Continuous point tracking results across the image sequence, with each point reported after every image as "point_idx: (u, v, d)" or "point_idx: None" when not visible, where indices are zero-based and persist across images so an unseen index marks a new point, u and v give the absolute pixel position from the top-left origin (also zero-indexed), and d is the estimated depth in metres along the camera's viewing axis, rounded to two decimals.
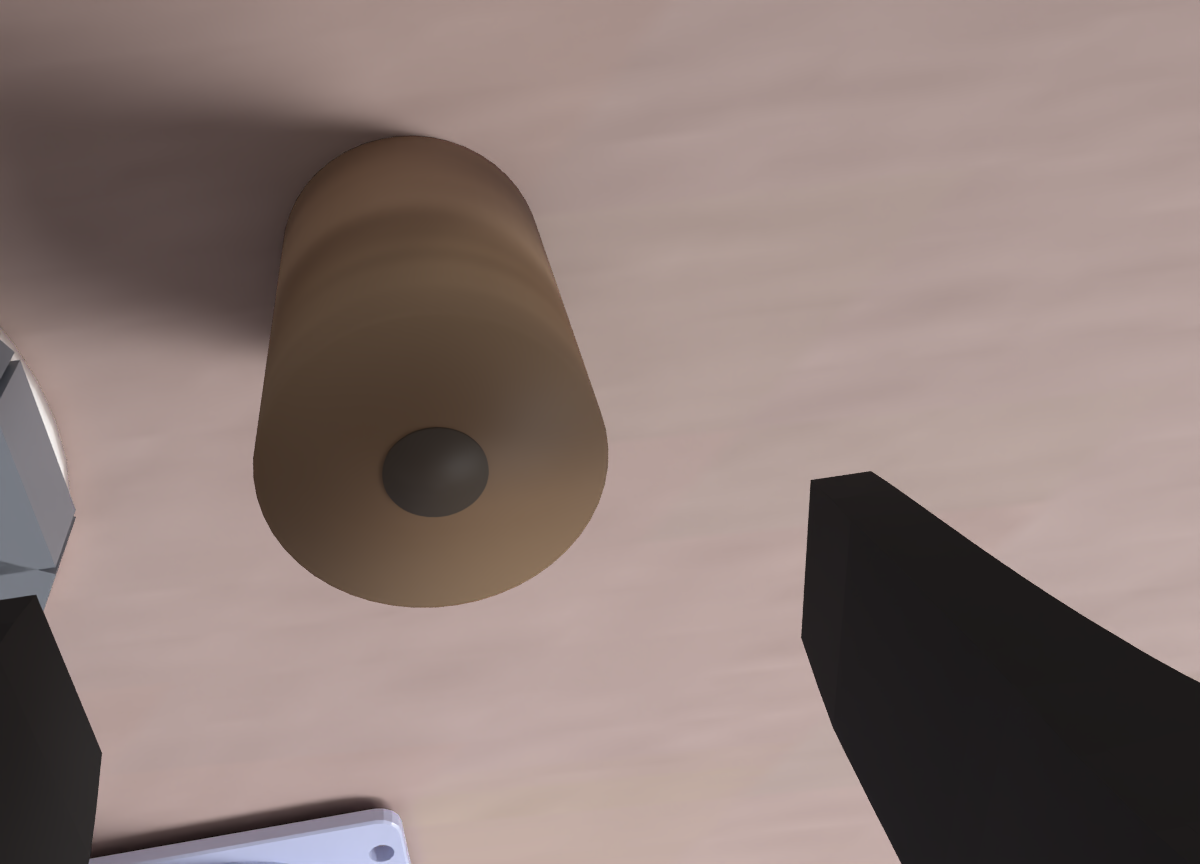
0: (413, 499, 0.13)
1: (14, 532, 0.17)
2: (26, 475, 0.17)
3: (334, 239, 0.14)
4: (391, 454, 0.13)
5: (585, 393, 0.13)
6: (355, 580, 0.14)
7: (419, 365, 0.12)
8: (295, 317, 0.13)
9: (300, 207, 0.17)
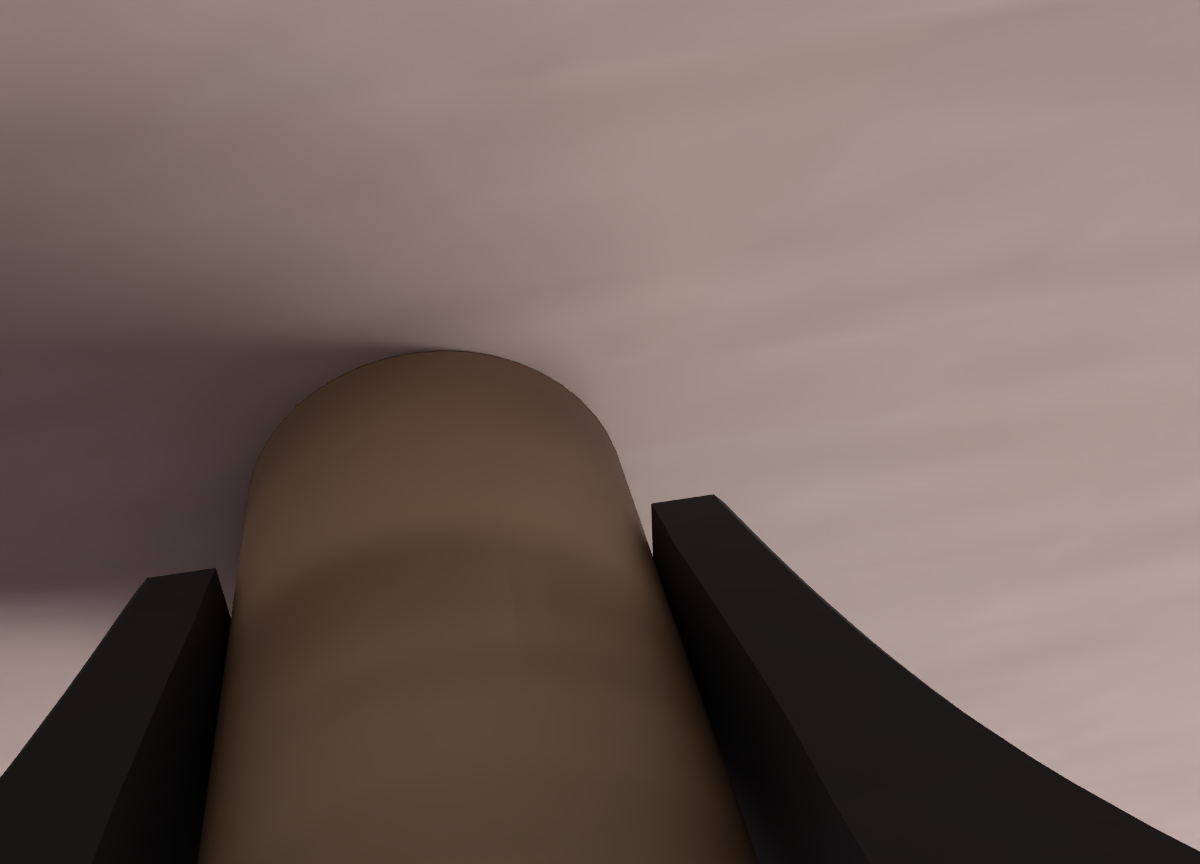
0: None
1: None
2: None
3: (319, 590, 0.09)
4: None
5: None
6: None
7: None
8: (248, 781, 0.08)
9: (270, 469, 0.11)
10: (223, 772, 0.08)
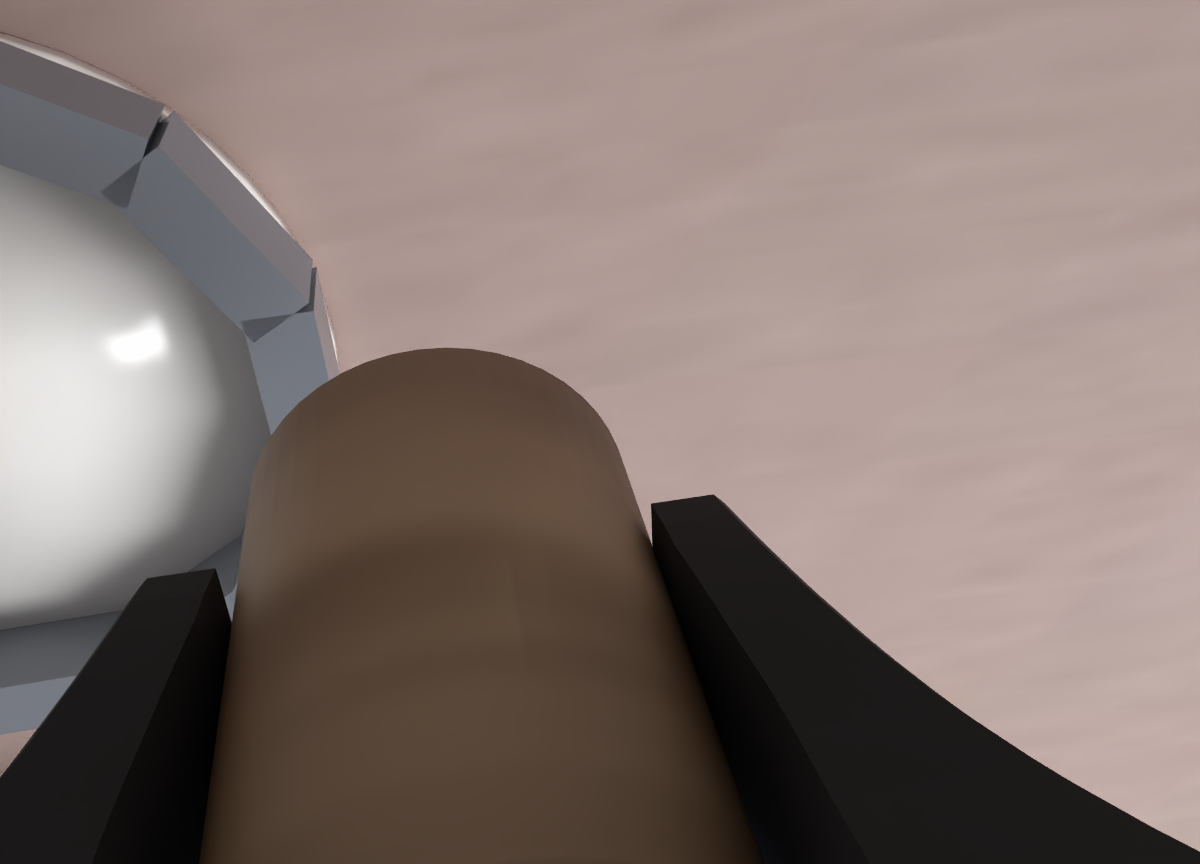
0: None
1: None
2: None
3: (320, 587, 0.09)
4: None
5: None
6: None
7: None
8: (251, 777, 0.08)
9: (272, 466, 0.11)
10: (225, 768, 0.08)
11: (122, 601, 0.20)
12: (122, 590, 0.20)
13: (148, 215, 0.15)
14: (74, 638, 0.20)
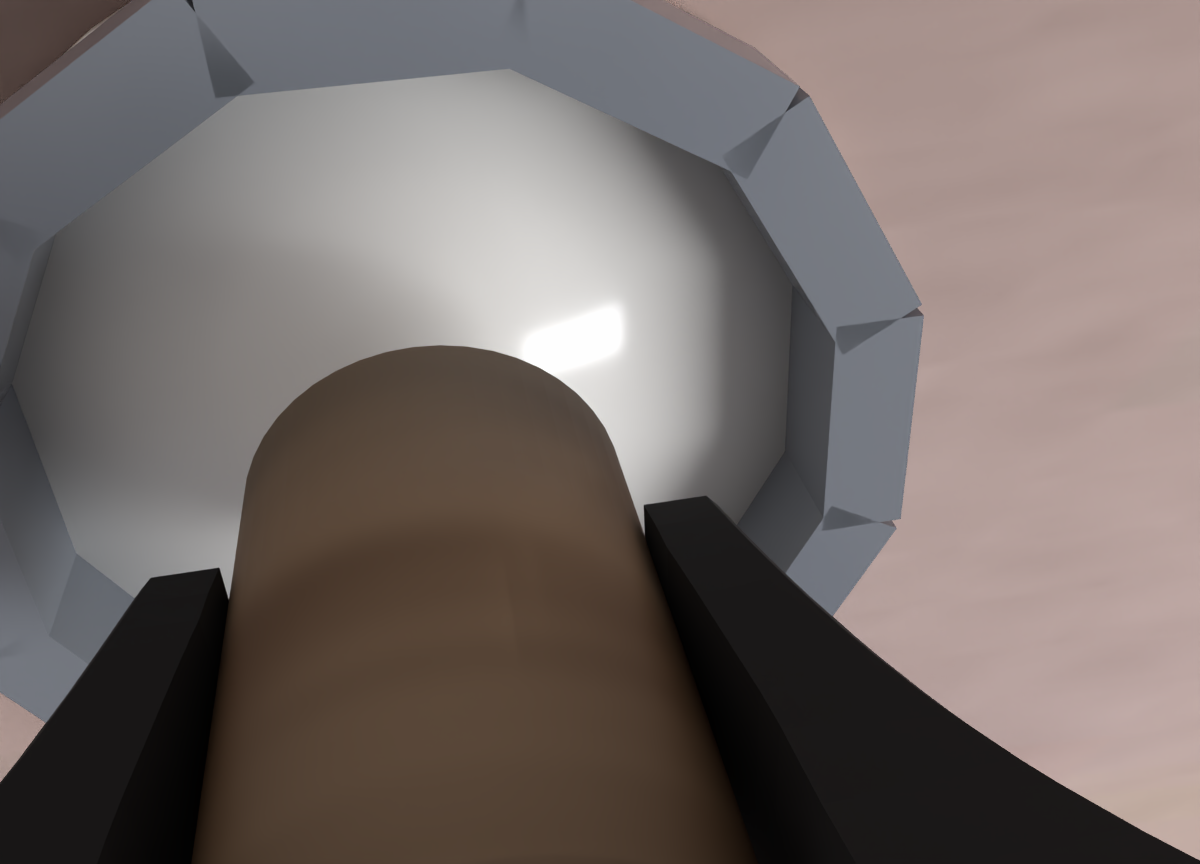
0: None
1: (876, 474, 0.14)
2: None
3: (314, 584, 0.09)
4: None
5: None
6: None
7: None
8: (242, 773, 0.07)
9: (267, 463, 0.11)
10: (218, 766, 0.08)
11: None
12: None
13: (769, 188, 0.11)
14: None
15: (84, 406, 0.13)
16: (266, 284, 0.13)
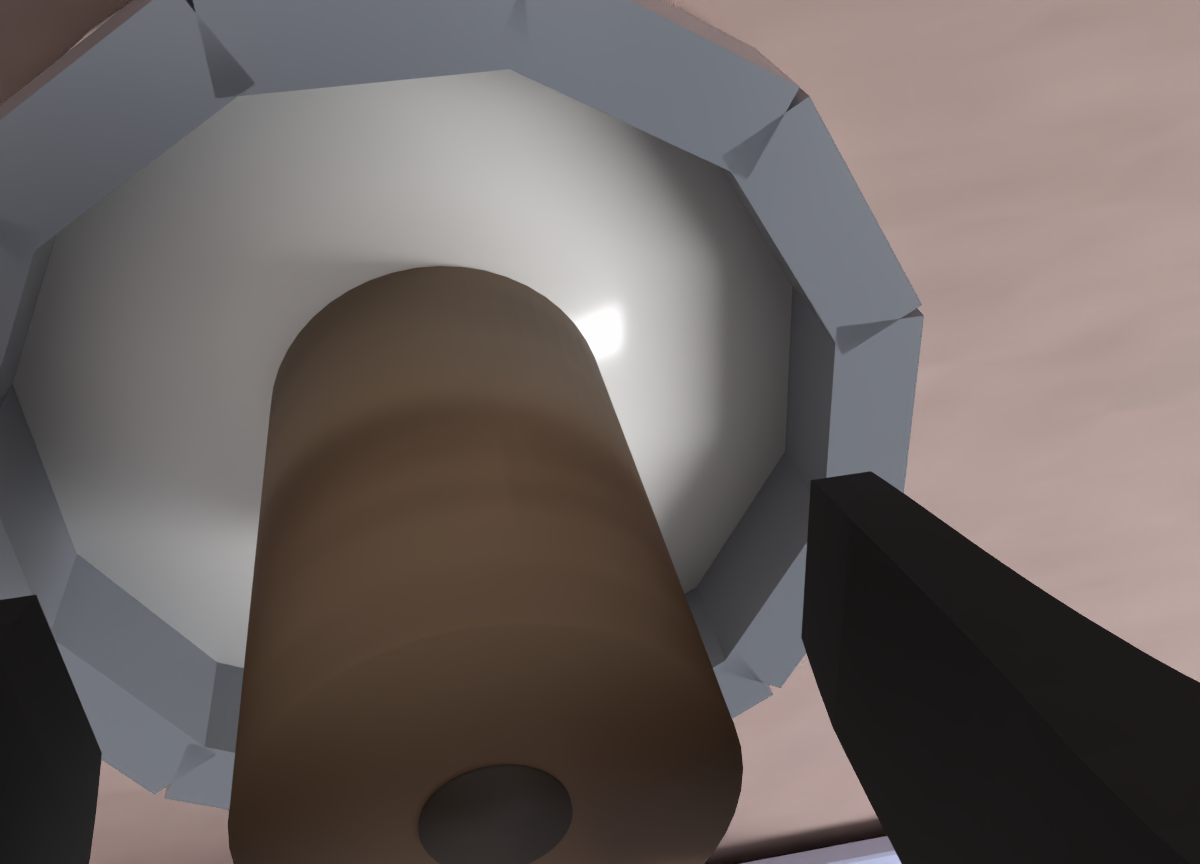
0: (462, 851, 0.09)
1: (876, 474, 0.14)
2: None
3: (339, 449, 0.10)
4: (432, 802, 0.09)
5: (714, 706, 0.09)
6: None
7: (474, 691, 0.08)
8: (285, 592, 0.09)
9: (292, 369, 0.12)
10: (263, 593, 0.10)
11: None
12: None
13: (770, 188, 0.11)
14: None
15: (86, 406, 0.13)
16: (268, 284, 0.13)
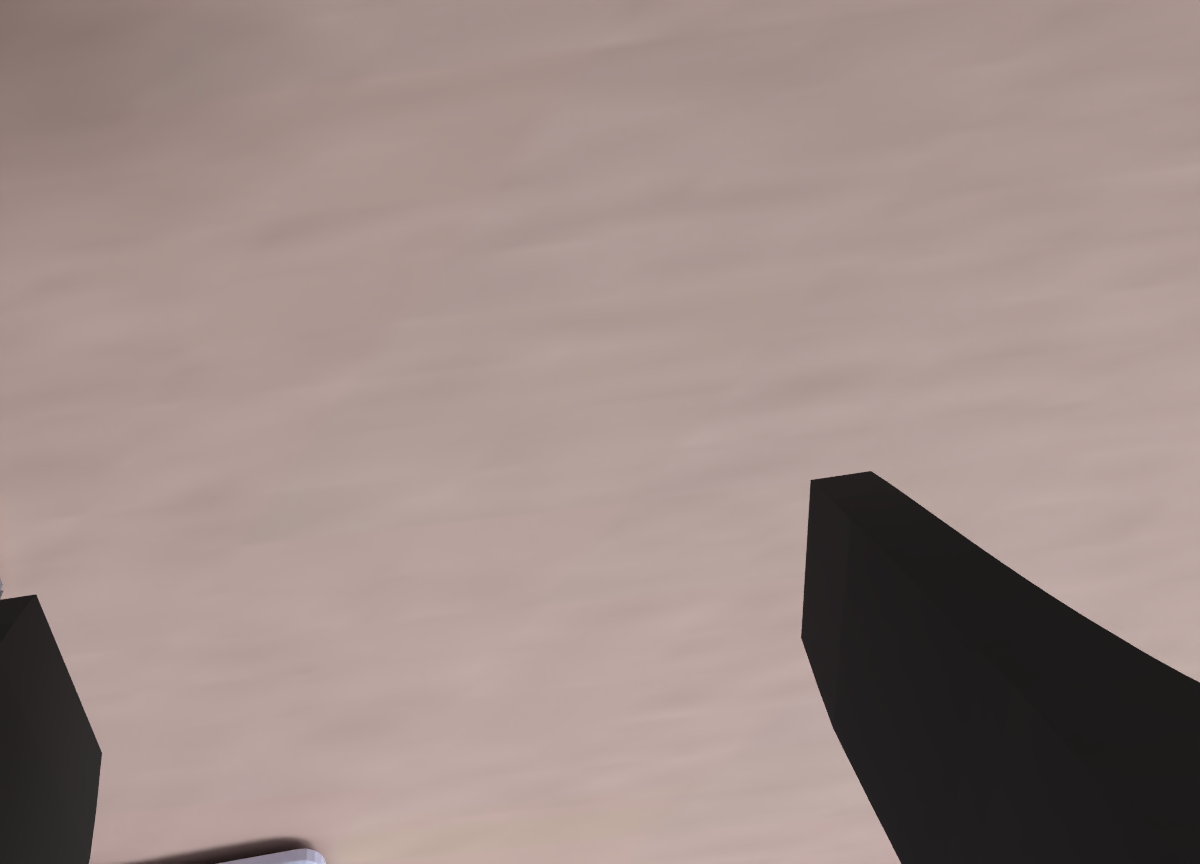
0: None
1: None
2: None
3: None
4: None
5: None
6: None
7: None
8: None
9: None
10: None
11: None
12: None
13: None
14: None
15: None
16: None
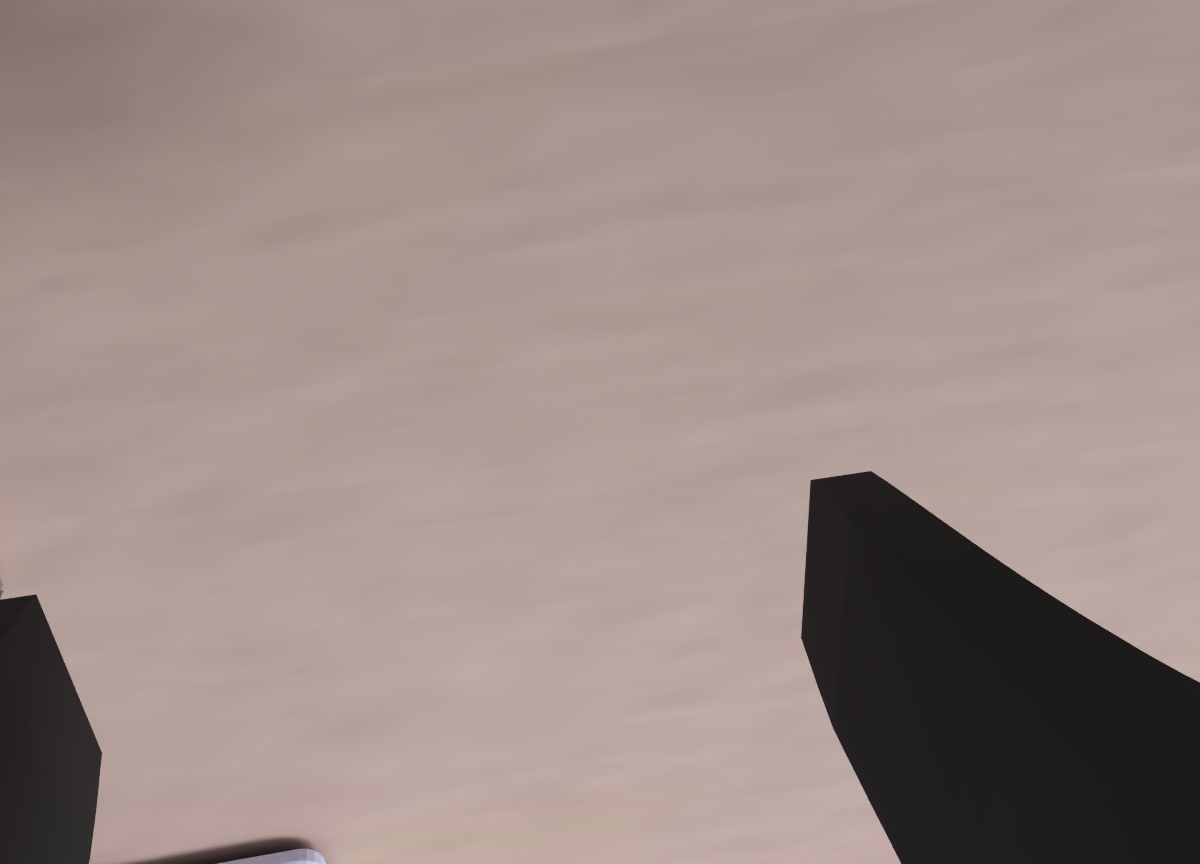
0: None
1: None
2: None
3: None
4: None
5: None
6: None
7: None
8: None
9: None
10: None
11: None
12: None
13: None
14: None
15: None
16: None
